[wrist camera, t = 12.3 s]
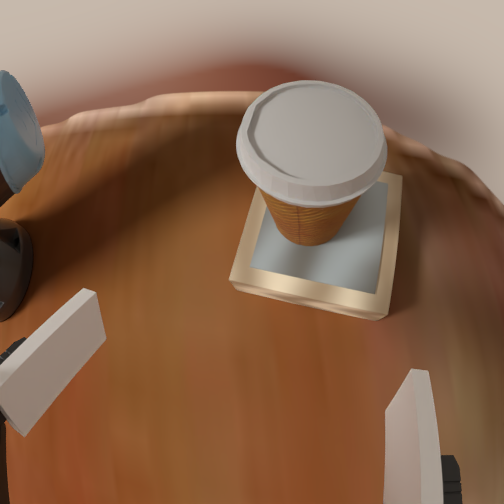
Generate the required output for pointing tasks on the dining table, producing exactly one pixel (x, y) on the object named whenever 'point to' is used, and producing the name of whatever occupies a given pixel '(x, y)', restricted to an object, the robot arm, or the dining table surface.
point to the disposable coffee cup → (311, 155)
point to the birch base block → (326, 257)
